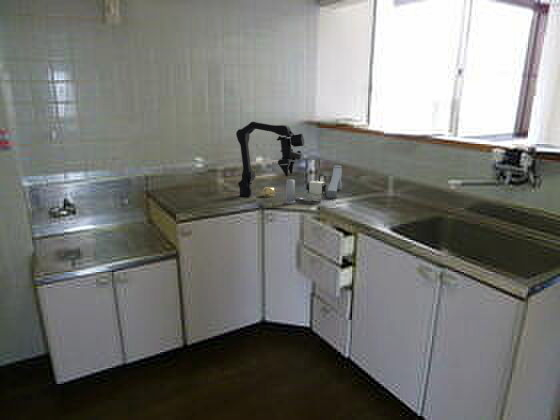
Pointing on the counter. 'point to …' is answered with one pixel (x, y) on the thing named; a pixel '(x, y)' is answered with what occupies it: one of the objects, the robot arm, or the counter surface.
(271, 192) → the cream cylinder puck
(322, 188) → the pneumatic valve
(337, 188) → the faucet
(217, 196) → the counter surface
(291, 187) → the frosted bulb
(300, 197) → the dark grey metal disc
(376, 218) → the counter surface
